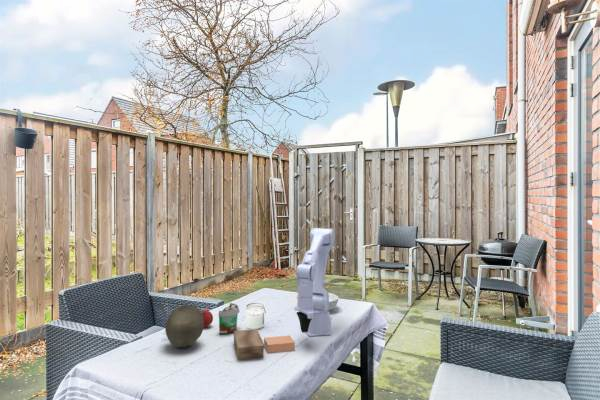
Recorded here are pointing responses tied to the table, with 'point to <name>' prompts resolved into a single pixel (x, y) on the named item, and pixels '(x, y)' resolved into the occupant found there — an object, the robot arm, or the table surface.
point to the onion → (207, 317)
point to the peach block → (279, 344)
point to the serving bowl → (331, 301)
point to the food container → (228, 319)
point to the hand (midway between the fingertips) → (304, 331)
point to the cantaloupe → (184, 325)
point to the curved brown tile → (248, 344)
